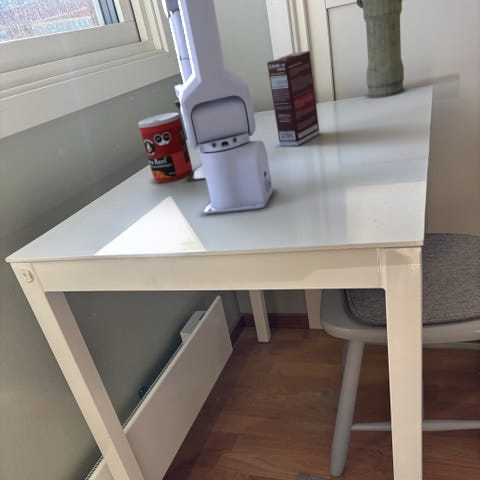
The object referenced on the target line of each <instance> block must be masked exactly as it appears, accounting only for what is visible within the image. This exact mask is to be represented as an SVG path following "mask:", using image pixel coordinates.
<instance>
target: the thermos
mask: <svg viewBox="0 0 480 480" xmlns="http://www.w3.org/2000/svg"><path fill="white" fill-rule="evenodd" d="M403 1H404V0H356V5H357V6H358V7H359V8H360V9H362V11H363V12H362V13H363V19H364V22H365V29H366V31H365V32H366V46H367V47H366V48H367V69H366V85H367V90H368V93H367V94H368V95H367V96H368V97H369V98H385V97H390V96H394V95H398V94H401V93H403V92H404V80H405V73H404V72H405V71H404V70H405V69H404V63H403V60H402V43H401V41H402V40H401V14H402V12H403Z"/></svg>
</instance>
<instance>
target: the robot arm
mask: <svg viewBox="0 0 480 480" xmlns="http://www.w3.org/2000/svg"><path fill="white" fill-rule="evenodd" d="M161 3H162V7H163V11H164V13H165V15H166V18H167V19H168V18H169V19H168V21H169V25H170V29H171V34H172V39H173V42H174V47H175V52H176V55H177V59H178V65H179V70H180V74H181V77H182V82H183V83H181V84H177V85H174V92H175V95H176V98H178V100H175V101H174V105H175V106H176V108H177V109H178V110H179V111H180V114H181V119H182V121H183V126H184V130H185V135H186V139H187V142H188V146H189V147H190V148H192V149H193V150H196V149H198V152H199V155H200V160H201V165H202V164H203V168H204V173H205V177H206V179H205V181H206V186H207V189H208V194H209V199H210V202H209V204H208V205H207V206H206V207H205V209H204V210H203V213H204V214H205V215H207V214H208V215H209V214H217V213H230V212H238V211H239V212H240V211H248V210H249V211H250V210H257V209H258V210H259V209H264V208H265V207H266V205H267V204H268V201H269V200H270V198H271V196H272V194H273V192H274V187H273V184H272V177H271V172H270V166H269V160H268V159H269V158H268V154H267V149H266V146H265V142H264V141H263V140H260V139H259V140H251V139H250V137H252V136H253V135H254V133H255V131H256V129H257V127H256V126H257V125H256V115H255V111H254V105H253V103H252V99H251V95H250V88H249V86H248V83H247V82H246V80H245V78H243V77H242V76H241V75H239V74H237V73H235V72H234V71H232V70H230V69H228V68H226V67H225V62H224V61H225V60H224V56H223V50H222V43H221V37H220V30H219V25H218V19H217V14H216V7H215V1H214V0H161ZM169 13H170V16H169Z"/></svg>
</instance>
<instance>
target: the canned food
mask: <svg viewBox="0 0 480 480" xmlns="http://www.w3.org/2000/svg"><path fill="white" fill-rule="evenodd" d="M137 124H138V128H139V133H140V135H141V140H142V143H143V147H144V149H145V152H146V153H145V154H146V157H147V160H148V165H149V167H150V171H151V174H152V177H153V180H154V181H155V182H158V183H168V182H173V181H177V180H180V179H184V178H186V177H189V176H190V175H191V174H192V173H193V164H192V161H191V156H190V152H189V148H188V143H187V140H186V139H187V138H186V136H185V135H186V134H185V131H184V130H185V129H184V127H183V126H184V125H183V123H182V117H181V115H180V113H179V112H167V113H162V114H158V115H153V116H150V117H147V118H144V119H142V120H140V121H139V122H138V123H137Z"/></svg>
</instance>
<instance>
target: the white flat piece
mask: <svg viewBox="0 0 480 480" xmlns="http://www.w3.org/2000/svg"><path fill="white" fill-rule="evenodd" d="M202 180H206V177H205V173H204V168H203V164H202V163H201V165H200V166H198V168H197V169H196V170H195V171H193V172H192V173H191V174H190V175H189V176H188V177H187V179H186V180H185V181H186V182H194V181H195V182H196V181H202Z"/></svg>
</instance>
